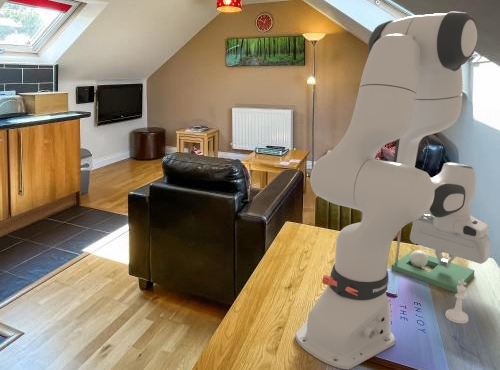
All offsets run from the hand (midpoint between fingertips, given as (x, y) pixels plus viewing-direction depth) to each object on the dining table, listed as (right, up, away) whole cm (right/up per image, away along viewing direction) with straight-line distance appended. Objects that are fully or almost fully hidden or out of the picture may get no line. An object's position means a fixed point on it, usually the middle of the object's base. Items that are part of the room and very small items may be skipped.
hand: (444, 266), depth 109 cm
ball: (-5, +1, +5) cm, 7 cm away
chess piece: (-6, -9, -18) cm, 21 cm away
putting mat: (-3, -3, +2) cm, 5 cm away
